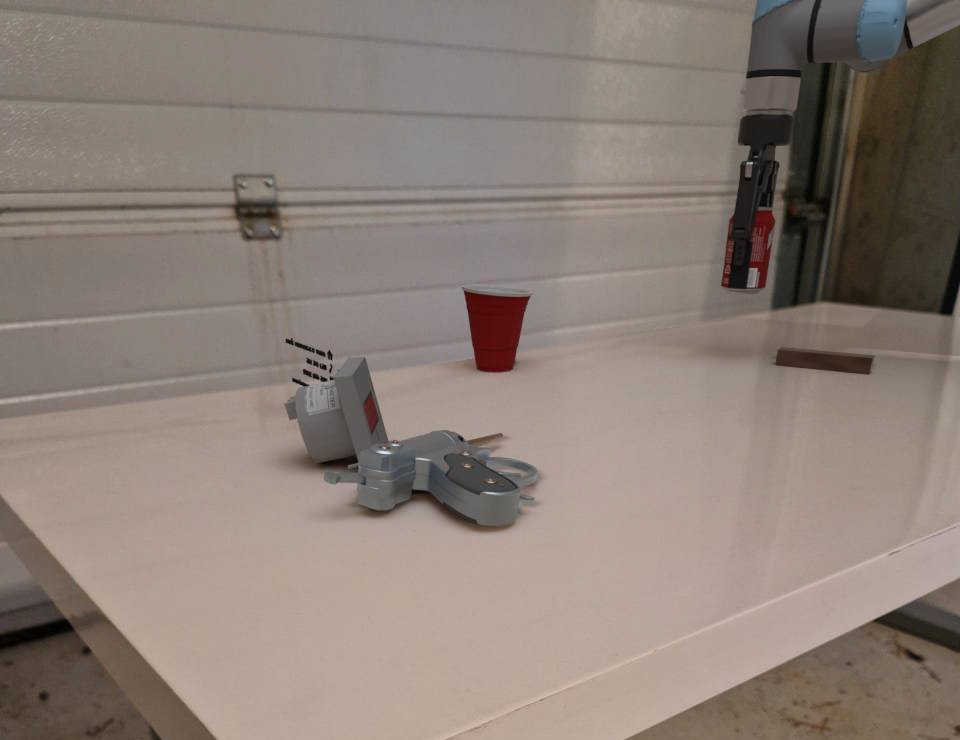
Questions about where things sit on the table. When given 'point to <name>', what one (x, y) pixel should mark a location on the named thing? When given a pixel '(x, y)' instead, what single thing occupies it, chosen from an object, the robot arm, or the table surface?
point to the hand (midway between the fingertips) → (743, 285)
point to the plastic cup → (495, 323)
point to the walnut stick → (825, 360)
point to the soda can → (753, 253)
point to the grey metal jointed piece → (441, 476)
